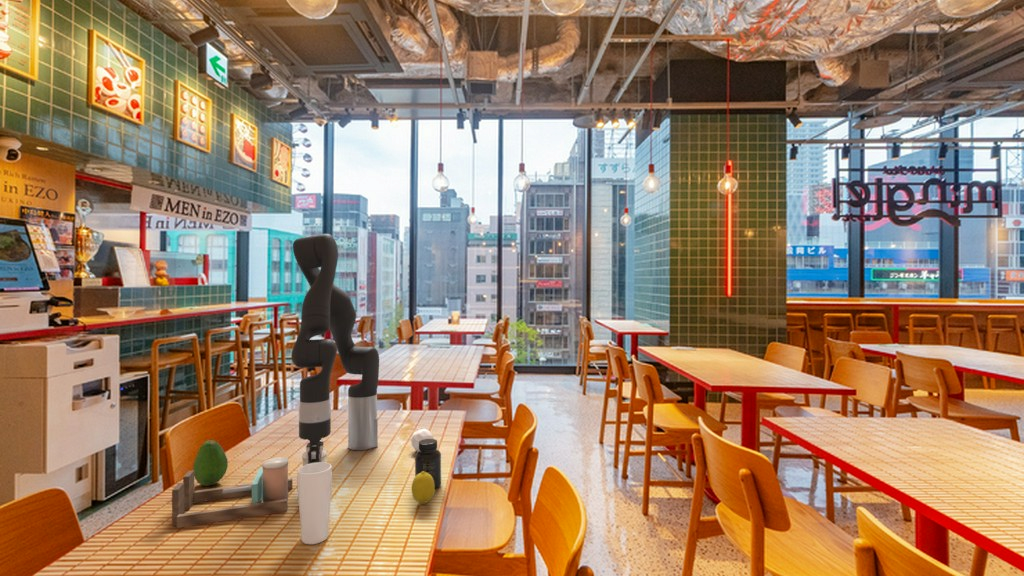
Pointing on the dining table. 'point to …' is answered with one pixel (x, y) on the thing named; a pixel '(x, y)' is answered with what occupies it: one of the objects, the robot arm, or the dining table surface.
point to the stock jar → (275, 479)
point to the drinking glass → (314, 501)
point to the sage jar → (324, 453)
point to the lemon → (423, 487)
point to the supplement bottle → (429, 460)
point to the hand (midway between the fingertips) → (315, 483)
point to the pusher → (252, 488)
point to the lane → (186, 497)
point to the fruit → (210, 463)
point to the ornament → (420, 437)
